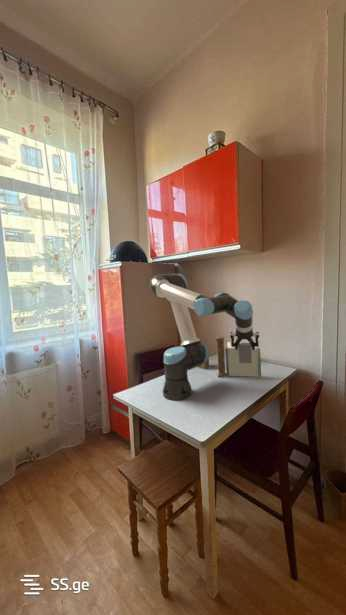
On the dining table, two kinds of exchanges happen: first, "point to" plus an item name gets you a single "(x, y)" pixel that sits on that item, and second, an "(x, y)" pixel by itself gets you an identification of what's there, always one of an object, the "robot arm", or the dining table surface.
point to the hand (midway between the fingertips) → (245, 351)
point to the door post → (221, 357)
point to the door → (243, 368)
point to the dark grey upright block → (245, 353)
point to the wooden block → (206, 365)
